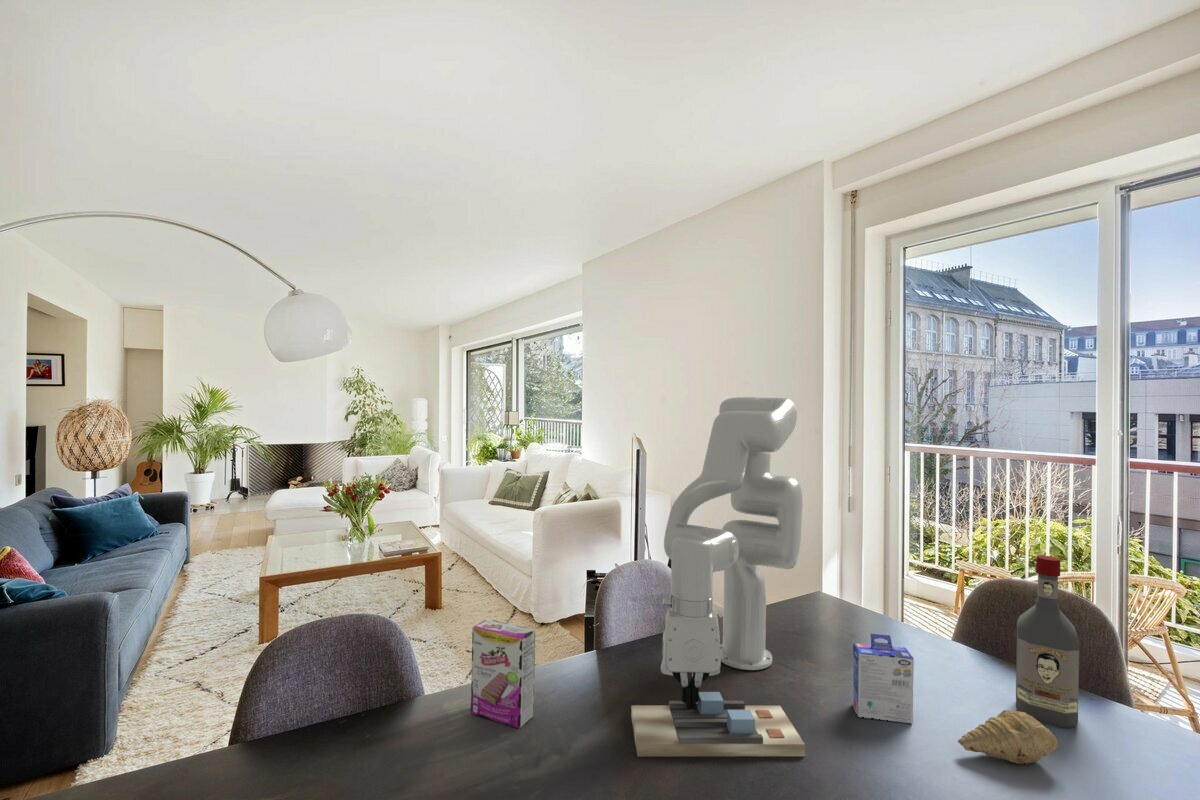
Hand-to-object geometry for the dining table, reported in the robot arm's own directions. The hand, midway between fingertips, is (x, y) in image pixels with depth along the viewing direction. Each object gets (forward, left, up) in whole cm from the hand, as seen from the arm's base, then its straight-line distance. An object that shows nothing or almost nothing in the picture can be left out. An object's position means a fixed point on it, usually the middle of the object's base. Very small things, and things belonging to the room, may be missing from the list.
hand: (689, 705), depth 103 cm
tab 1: (0, +4, -1) cm, 4 cm away
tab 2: (+6, +8, -1) cm, 10 cm away
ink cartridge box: (-4, +38, -4) cm, 38 cm away
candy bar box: (-3, -34, -4) cm, 35 cm away
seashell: (+10, +51, -4) cm, 52 cm away
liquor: (-4, +70, -4) cm, 70 cm away
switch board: (+3, +4, -4) cm, 6 cm away
